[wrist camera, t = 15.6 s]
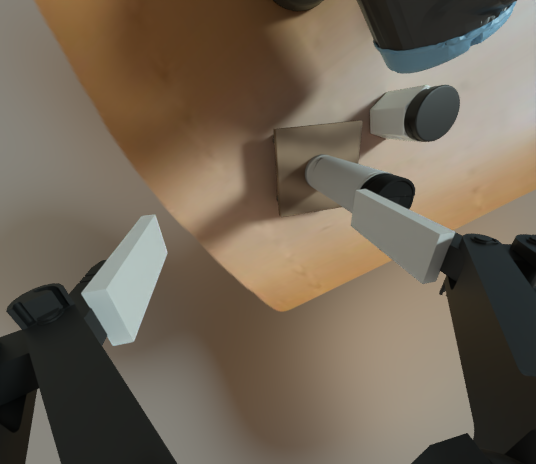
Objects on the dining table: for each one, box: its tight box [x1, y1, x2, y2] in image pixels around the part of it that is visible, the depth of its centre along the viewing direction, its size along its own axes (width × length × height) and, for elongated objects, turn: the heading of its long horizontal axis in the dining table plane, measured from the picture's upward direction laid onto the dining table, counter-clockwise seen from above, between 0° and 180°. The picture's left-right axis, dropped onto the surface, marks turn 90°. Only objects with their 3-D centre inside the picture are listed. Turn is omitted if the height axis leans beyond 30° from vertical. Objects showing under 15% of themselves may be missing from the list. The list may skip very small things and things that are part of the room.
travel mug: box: [305, 154, 415, 213], centre depth 33 cm, size 6×7×20 cm
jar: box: [370, 85, 460, 142], centre depth 41 cm, size 9×8×12 cm
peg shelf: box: [273, 120, 363, 217], centre depth 44 cm, size 16×16×6 cm
